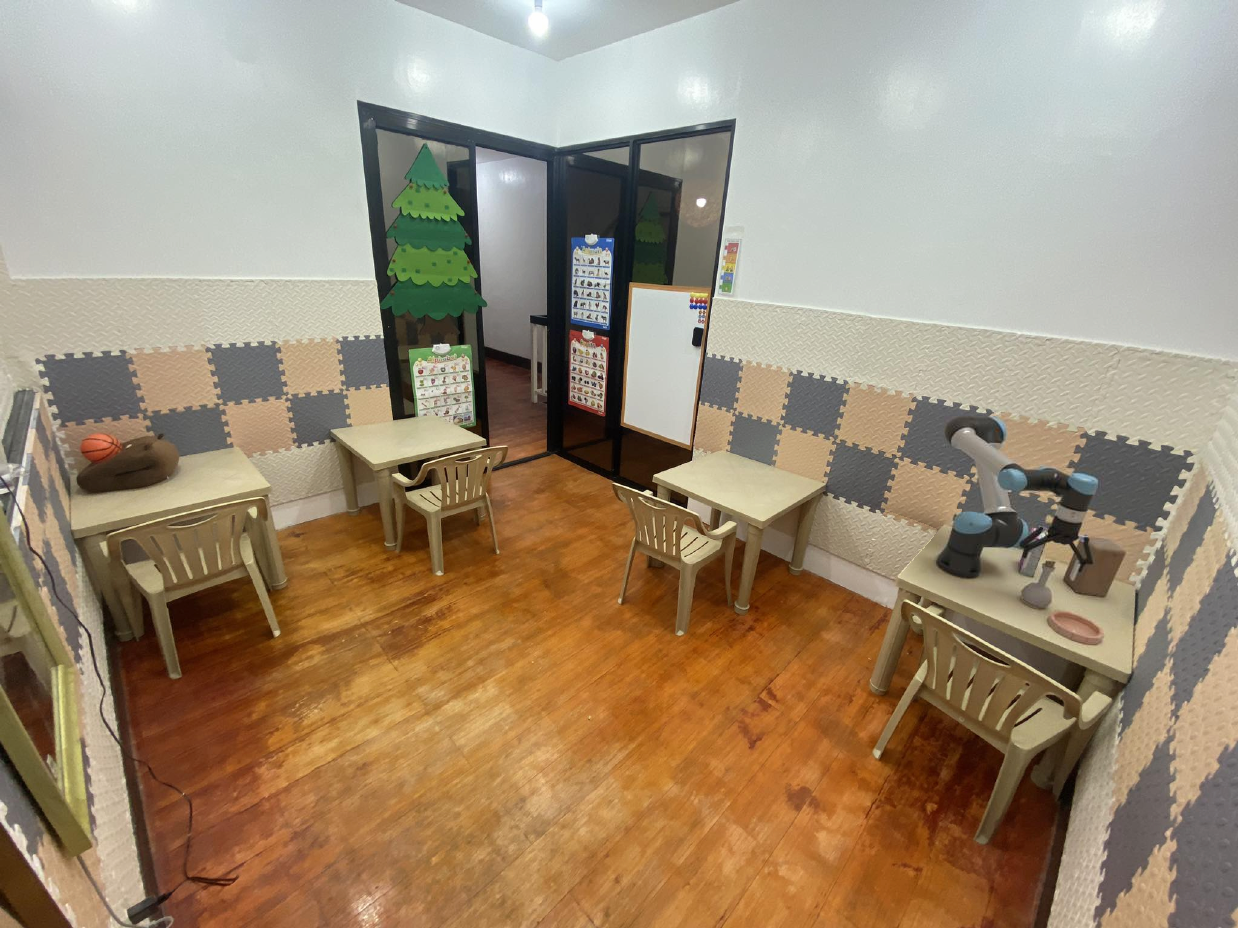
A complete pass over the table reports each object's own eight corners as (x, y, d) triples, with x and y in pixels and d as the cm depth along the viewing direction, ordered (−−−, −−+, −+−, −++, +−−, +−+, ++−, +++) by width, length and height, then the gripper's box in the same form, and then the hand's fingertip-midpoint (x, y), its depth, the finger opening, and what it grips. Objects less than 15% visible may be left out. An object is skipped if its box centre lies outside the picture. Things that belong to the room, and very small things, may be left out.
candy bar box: (1018, 561, 217) (1031, 526, 211) (1033, 566, 214) (1047, 530, 208) (1017, 573, 208) (1031, 537, 202) (1033, 577, 206) (1047, 541, 200)
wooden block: (1106, 597, 195) (1128, 551, 188) (1076, 593, 197) (1097, 547, 189) (1089, 583, 204) (1110, 538, 197) (1061, 579, 206) (1080, 534, 199)
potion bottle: (1039, 612, 184) (1057, 569, 178) (1013, 598, 192) (1030, 556, 185) (1054, 607, 188) (1072, 564, 181) (1028, 593, 195) (1044, 552, 188)
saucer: (1051, 633, 174) (1054, 627, 173) (1045, 611, 185) (1047, 605, 184) (1105, 650, 167) (1108, 643, 166) (1095, 626, 178) (1098, 620, 178)
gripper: (1025, 512, 180) (1005, 565, 187) (1119, 533, 168) (1094, 589, 175) (1022, 505, 186) (1004, 556, 193) (1113, 524, 174) (1090, 578, 182)
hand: (1047, 572), depth 184 cm, fingers open, 13 cm apart
